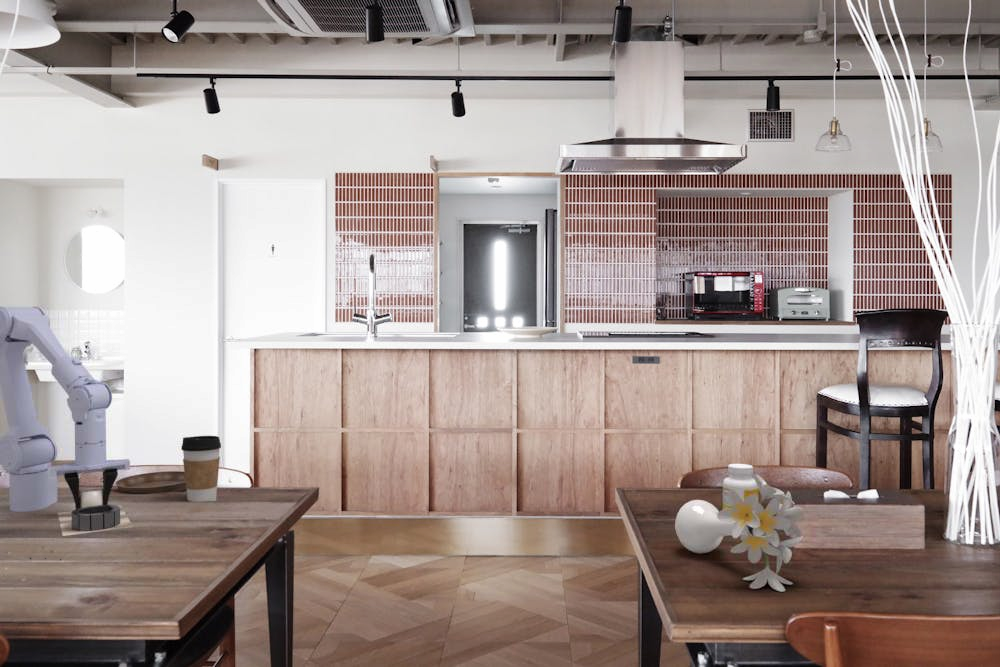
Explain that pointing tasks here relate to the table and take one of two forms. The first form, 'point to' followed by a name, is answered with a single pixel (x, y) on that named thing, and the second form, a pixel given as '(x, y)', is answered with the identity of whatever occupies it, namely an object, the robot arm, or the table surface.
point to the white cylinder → (91, 497)
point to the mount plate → (66, 529)
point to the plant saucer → (153, 482)
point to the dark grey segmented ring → (95, 517)
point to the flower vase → (744, 529)
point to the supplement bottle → (739, 483)
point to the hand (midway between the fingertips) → (91, 507)
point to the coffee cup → (201, 467)
